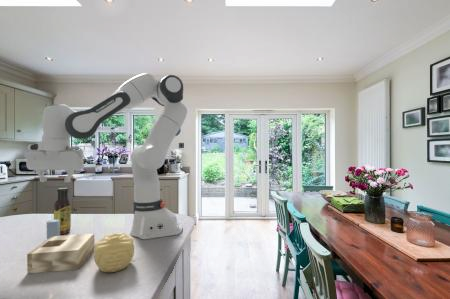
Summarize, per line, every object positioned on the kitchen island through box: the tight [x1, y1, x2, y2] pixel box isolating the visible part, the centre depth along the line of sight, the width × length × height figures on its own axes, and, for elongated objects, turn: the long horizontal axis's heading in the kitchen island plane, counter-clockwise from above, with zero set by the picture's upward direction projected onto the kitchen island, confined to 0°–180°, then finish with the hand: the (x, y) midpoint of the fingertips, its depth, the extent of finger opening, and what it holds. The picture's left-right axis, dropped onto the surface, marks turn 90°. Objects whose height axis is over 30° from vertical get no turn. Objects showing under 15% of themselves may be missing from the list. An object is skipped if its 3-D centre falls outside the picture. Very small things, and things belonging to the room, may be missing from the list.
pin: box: [46, 219, 61, 240], centre depth 88 cm, size 4×4×10 cm
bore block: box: [26, 233, 95, 274], centre depth 78 cm, size 14×14×6 cm
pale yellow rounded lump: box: [93, 232, 135, 273], centre depth 74 cm, size 12×12×11 cm
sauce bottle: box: [53, 187, 72, 236], centre depth 103 cm, size 6×6×20 cm
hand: (55, 181), depth 90 cm, fingers open, 8 cm apart
